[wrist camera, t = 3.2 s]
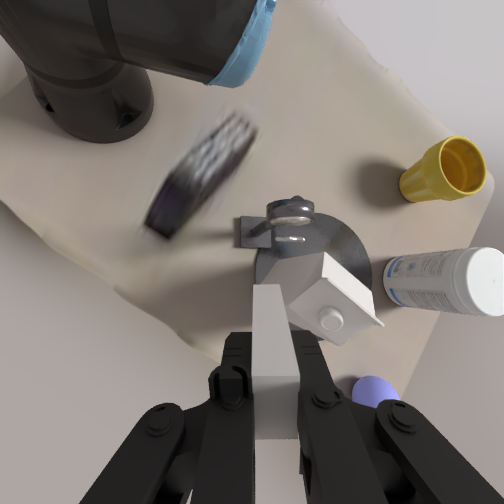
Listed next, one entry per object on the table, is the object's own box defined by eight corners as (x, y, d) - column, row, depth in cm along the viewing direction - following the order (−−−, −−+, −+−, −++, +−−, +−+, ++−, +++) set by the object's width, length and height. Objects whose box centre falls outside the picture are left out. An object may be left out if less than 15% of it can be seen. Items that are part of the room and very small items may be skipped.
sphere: (356, 420, 41) (388, 449, 35) (335, 386, 41) (364, 408, 34) (384, 393, 43) (420, 415, 36) (364, 360, 43) (397, 377, 36)
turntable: (255, 344, 38) (255, 345, 38) (254, 209, 40) (255, 208, 40) (372, 336, 44) (374, 336, 43) (367, 216, 46) (368, 216, 45)
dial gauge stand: (240, 251, 39) (275, 234, 22) (240, 217, 40) (275, 174, 23) (269, 252, 40) (325, 235, 23) (269, 219, 41) (323, 179, 24)
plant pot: (405, 151, 49) (455, 122, 40) (439, 184, 51) (495, 163, 41) (382, 187, 47) (429, 166, 38) (418, 221, 48) (472, 208, 39)
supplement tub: (425, 300, 47) (526, 311, 33) (386, 310, 45) (476, 327, 31) (415, 251, 48) (510, 241, 33) (375, 259, 45) (459, 251, 31)
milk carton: (277, 259, 40) (348, 246, 22) (309, 285, 41) (402, 294, 23) (252, 294, 39) (305, 312, 20) (285, 320, 39) (365, 360, 21)
